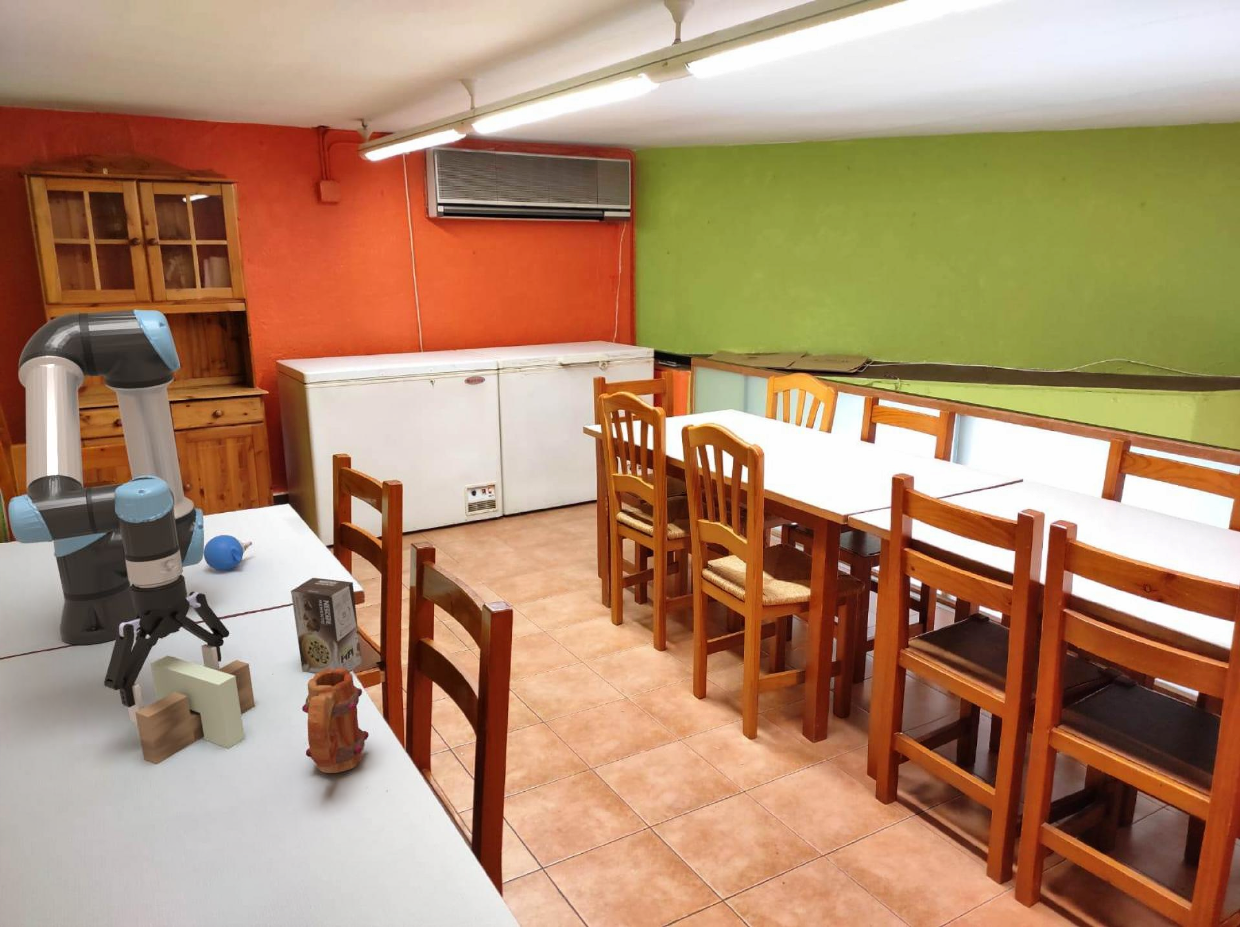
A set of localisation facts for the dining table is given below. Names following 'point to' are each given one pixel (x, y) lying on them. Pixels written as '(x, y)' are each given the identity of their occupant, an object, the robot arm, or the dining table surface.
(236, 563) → the blue rubber bulb
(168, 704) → the walnut board
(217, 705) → the sage board
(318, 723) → the mug
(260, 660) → the dining table surface
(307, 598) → the coffee box
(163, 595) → the robot arm
